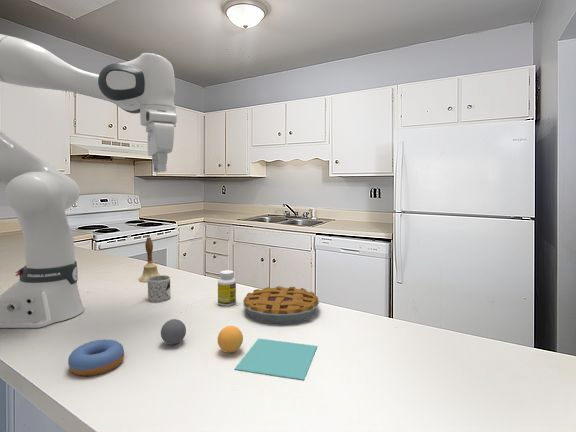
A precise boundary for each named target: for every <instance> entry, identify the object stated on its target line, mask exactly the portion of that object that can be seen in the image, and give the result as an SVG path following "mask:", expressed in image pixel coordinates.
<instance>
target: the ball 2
mask: <svg viewBox="0 0 576 432" xmlns="http://www.w3.org/2000/svg"><path fill="white" fill-rule="evenodd" d="M243 341H244V335H243V332H242V331H241V329H240V328H238V327H237V326H236V325H235V326H234V325H227V326H225V327H223V328H222V329H221V330H220V331H219V332H218V335H217V344H218V347H219V349H220V350H222V351H223V352H225V353H235V352H237V351H238V350H239V349H240V348H241V346H242V345H243Z"/></svg>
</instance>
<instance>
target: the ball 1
mask: <svg viewBox="0 0 576 432" xmlns="http://www.w3.org/2000/svg"><path fill="white" fill-rule="evenodd" d="M186 334H187V328H186V325H185V323H184V322H183V321H182V320H180V319H176V318H173V319H169V320H167V321H166V322H164V324H163V325H162V326H161V329H160V337H161V339H162V341H163V342H164V343H166V344H168V345H176V344H179V343H181V342H182V341H183V340H184V338H185V337H186Z"/></svg>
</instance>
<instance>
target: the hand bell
mask: <svg viewBox="0 0 576 432" xmlns="http://www.w3.org/2000/svg"><path fill="white" fill-rule="evenodd" d="M144 244H145V252H146V254H147V263H146V264H144V265H143V270H142V274H141V276H140V277H139V278H138V282H140V283H148V278H149V277H153V276H159V275H160V273H159V271H158V266H157V264H155V263H154V262H153V261H154V260H153V250H154V249H153V248H154V243H153V241H152V238H151V237H150V236H148V237H146V241H145V243H144Z"/></svg>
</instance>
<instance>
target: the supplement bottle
mask: <svg viewBox="0 0 576 432" xmlns="http://www.w3.org/2000/svg"><path fill="white" fill-rule="evenodd" d="M234 276H235V273H234V271H233V270H227V269H226V270H221V271H220V272H219V277H220V278H219V279H218V280H217V304H218V305H219V306H223V307H230V306H233V305H235V304H236V302H237V280H236V278H234Z"/></svg>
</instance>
